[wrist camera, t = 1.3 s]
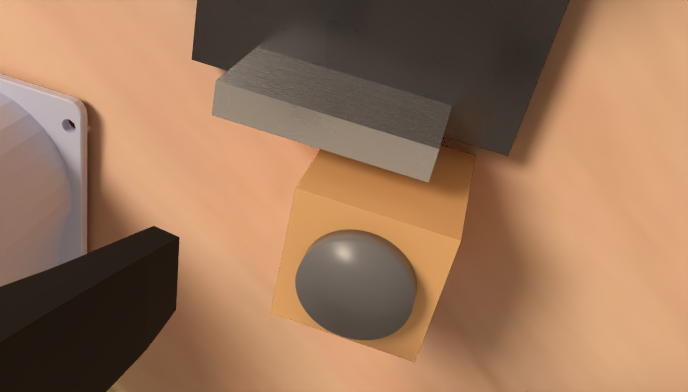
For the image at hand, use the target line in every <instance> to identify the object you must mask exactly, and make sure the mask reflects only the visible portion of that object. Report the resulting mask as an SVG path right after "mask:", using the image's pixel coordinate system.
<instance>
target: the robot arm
mask: <svg viewBox="0 0 688 392" xmlns="http://www.w3.org/2000/svg"><path fill="white" fill-rule="evenodd" d="M69 120H71V121H72V122H73V123H74V124H75V128H74V127H72V126H71V124H70V123H69ZM178 255H179V237H177V236H175V235H173V234H171V233H168V232H166V231H164V230H162V229H159V228H157V227H155V226H153V227H150V228H148V229H145V230H143V231H140V232H138V233H135V234H133V235H131V236H128V237H126V238H123V239H121V240H119V241H116V242H114V243H112V244H109V245H107V246H105V247H102V248H100V249H97V250H95V251H93V252H90V253H88V254H87V109H86V107H85V105H84V104H83V103H82V102H81V101H80V100H79V99H77V98H75V97H73V96H70V95H66V94H63V93H60V92H57V91H54V90H51V89H47V88H44V87H41V86H38V85H35V84H32V83H29V82H25V81H22V80H19V79H16V78H13V77H10V76H6V75H3V74H0V392H106V391H107V390H108V389H109V388H110V387H111V386H112V385H113V384H114V383H115V382H116V381H117V380H118V379H119V378H120V377H121V376H122V375H123V374H124V373H125V372H126V370H127V369H128V368H129V367H130V366H131V365H132V364H133V363H134V362H135V361H136V360H137V359H138V358H139V357H140V356H141V355H142V354H143V352H144V351H145V350H146V349H147V348H148V347H149V345H150V344H151V343H152V341H153V340H154V339H155V337H156V336H157V335H158V334H159V332H160V331H161V330H162V328H163V327H164V325H165V324H166V323H167V321H168V320H169V318H170V317H171V316H172V314H173V313H174V312H175V310H176V297H177V276H178Z"/></svg>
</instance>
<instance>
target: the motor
mask: <svg viewBox="0 0 688 392" xmlns="http://www.w3.org/2000/svg"><path fill="white" fill-rule="evenodd" d="M568 3H569V0H197V8H196V19H195V30H194V41H193V52H192V60H195V61H198V62H201V63H205V64H208V65H211V66H215V67H218V68H221V69H224V70H228V71H227V72H226V73H225V74H223V75H222V76H221V77H220V78H219V79H217V80H216V84H215V93H214V102H213V111H212V115H213V116H217V117H220V118H223V119H226V120H229V121H233V122H236V123H239V124H242V125H245V126H249V127H252V128H255V129H258V130H261V131H265V132H268V133H271V134H274V135H277V136H281V137H284V138H287V139H290V140H293V141H297V142H300V143H303V144H306V145H309V146H313V147H316V148H319V149H322V150H325V151H329V152H332V153H335V154H338V155H341V156H345V157H348V158H351V159H354V160H357V161H361V162H364V163H367V164H370V165H373V166H377V167H380V168H383V169H386V170H389V171H393V172H396V173H399V174H402V175H405V176H409V177H412V178H415V179H418V180H421V181H425V182H428V183H429V180H430V176H431V173H432V170H433V167H434V164H435V161H436V158H437V155H438V152H439V149H440V146H441V142H442V139H443V136H444V137H448V138H451V139H454V140H457V141H461V142H464V143H467V144H471V145H474V146H477V147H480V148H484V149H487V150H490V151H494V152H497V153H500V154H503V155H507V156H508V155H509V152H510V150H511V147H512V144H513V142H514V139H515V137H516V134H517V132H518V129H519V127H520V124H521V122H522V119H523V117H524V114H525V112H526V109H527V106H528V104H529V101H530V99H531V96H532V94H533V91H534V89H535V86H536V84H537V81H538V79H539V76H540V74H541V71H542V68H543V66H544V63H545V61H546V58H547V56H548V53H549V51H550V48H551V46H552V43H553V41H554V38H555V35H556V33H557V30H558V28H559V25H560V23H561V20H562V18H563V15H564V13H565V10H566V8H567V5H568Z"/></svg>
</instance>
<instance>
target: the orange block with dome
mask: <svg viewBox="0 0 688 392" xmlns="http://www.w3.org/2000/svg"><path fill="white" fill-rule="evenodd" d="M474 162H475V155H471V154H468V153H465V152H461V151H458V150H455V149H452V148H448V147H445V146H442V145H441V146H440V149H439V152H438V155H437V158H436V161H435V164H434V167H433V170H432V173H431V176H430V180H429V183H428V182H425V181H421V180H418V179H415V178H412V177H409V176H405V175H402V174H399V173H396V172H393V171H389V170H386V169H383V168H380V167H377V166H373V165H370V164H367V163H364V162H361V161H357V160H354V159H351V158H348V157H345V156H341V155H338V154H335V153H332V152H329V151H325V150H322V149H320V151H319V152H318V154H317V156H316V157H315V159H314V160H313V162H312V163H311V165H310V166H309V168H308V170H307V171H306V173H305V174H304V176H303V177H302V179H301V180H300V182H299V183H298V185H297V187H296V188H295V193H294V198H293V203H292V208H291V213H290V218H289V223H288V228H287V233H286V238H285V243H284V248H283V253H282V258H281V263H280V268H279V273H278V278H277V283H276V288H275V292H274V297H273V302H272V307H271V312H270V313H272V314H275V315H277V316H280V317H283V318H286V319H289V320H292V321H295V322H298V323H301V324H304V325H307V326H310V327H313V328H316V329H319V330H322V331H324V332H327V333H330V334H333V335H336V336H339V337H342V338H345V339H348V340H351V341H354V342H357V343H360V344H363V345H366V346H369V347H371V348H374V349H377V350H380V351H383V352H386V353H389V354H392V355H395V356H398V357H401V358H404V359H407V360H410V361H413V362H415V361H416V358H417V355H418V353H419V350H420V347H421V345H422V342H423V340H424V337H425V334H426V332H427V329H428V326H429V324H430V321H431V318H432V316H433V313H434V311H435V308H436V305H437V303H438V300H439V297H440V295H441V292H442V290H443V287H444V284H445V282H446V279H447V276H448V274H449V271H450V269H451V266H452V263H453V261H454V258H455V255H456V253H457V250H458V248H459V245H460V242H461V238H462V232H463V227H464V221H465V215H466V209H467V203H468V197H469V192H470V186H471V180H472V174H473V168H474Z"/></svg>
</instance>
